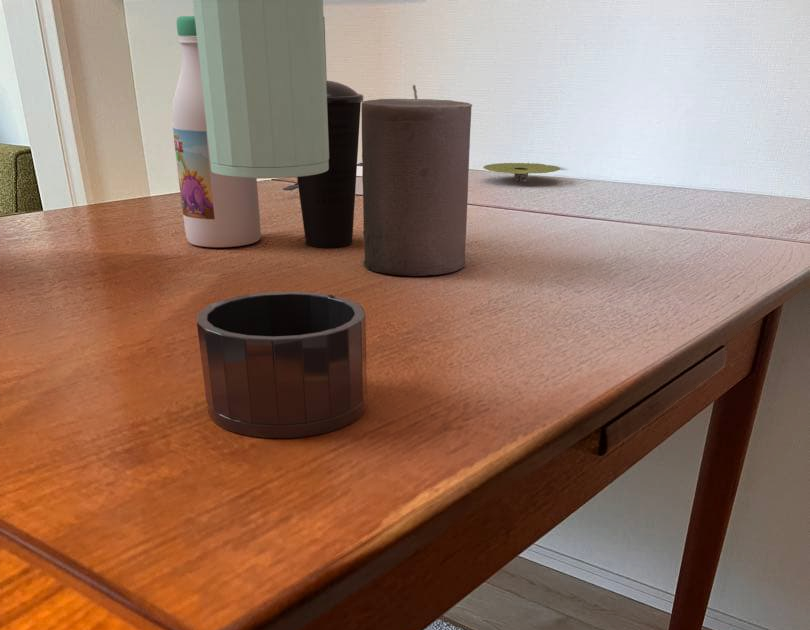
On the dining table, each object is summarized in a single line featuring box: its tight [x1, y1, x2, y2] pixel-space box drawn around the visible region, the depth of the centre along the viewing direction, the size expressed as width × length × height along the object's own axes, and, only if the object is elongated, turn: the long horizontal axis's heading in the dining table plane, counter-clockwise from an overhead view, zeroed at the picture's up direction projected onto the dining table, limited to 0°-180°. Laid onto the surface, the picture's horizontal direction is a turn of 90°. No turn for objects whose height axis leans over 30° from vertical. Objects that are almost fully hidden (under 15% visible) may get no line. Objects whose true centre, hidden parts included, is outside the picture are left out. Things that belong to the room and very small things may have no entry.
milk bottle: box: [171, 15, 262, 248], centre depth 83 cm, size 8×8×20 cm
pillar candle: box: [360, 84, 473, 277], centre depth 76 cm, size 10×10×15 cm
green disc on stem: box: [482, 162, 561, 183], centre depth 124 cm, size 11×11×2 cm
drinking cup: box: [296, 20, 365, 249], centre depth 82 cm, size 8×8×20 cm
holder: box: [196, 291, 368, 439], centre depth 48 cm, size 9×9×6 cm
